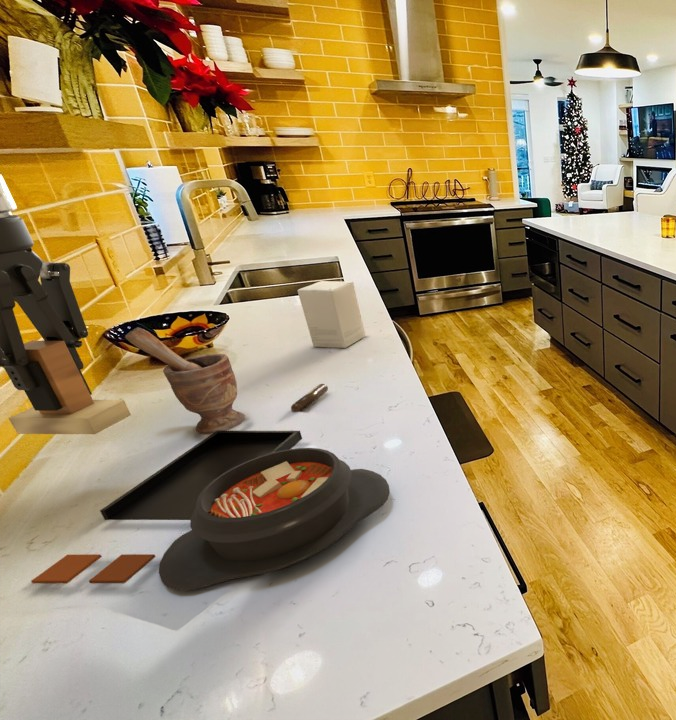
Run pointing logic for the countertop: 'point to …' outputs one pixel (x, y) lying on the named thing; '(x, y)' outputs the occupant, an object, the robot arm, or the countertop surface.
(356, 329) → the rectangular carton
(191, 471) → the griddle pan
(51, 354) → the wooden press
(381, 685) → the countertop surface
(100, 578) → the plate
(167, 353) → the mortar and pestle
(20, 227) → the robot arm
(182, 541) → the casserole
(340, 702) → the countertop surface
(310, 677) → the countertop surface
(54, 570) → the plate
